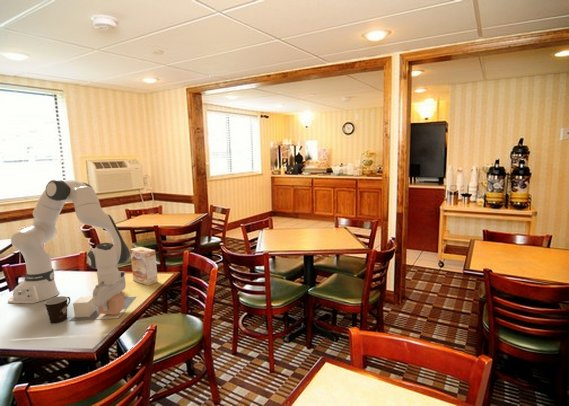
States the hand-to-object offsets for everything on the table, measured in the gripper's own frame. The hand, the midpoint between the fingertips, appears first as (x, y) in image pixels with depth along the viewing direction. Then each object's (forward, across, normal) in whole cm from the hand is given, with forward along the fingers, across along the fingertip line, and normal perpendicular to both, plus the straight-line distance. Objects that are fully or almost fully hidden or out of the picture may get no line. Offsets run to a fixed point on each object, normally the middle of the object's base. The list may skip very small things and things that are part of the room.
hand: (111, 306), depth 161 cm
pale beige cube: (+4, 0, +13) cm, 14 cm away
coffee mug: (+4, -6, +21) cm, 22 cm away
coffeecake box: (+5, +42, +6) cm, 42 cm away
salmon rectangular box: (+2, 0, 0) cm, 2 cm away
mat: (+4, +6, +7) cm, 10 cm away
